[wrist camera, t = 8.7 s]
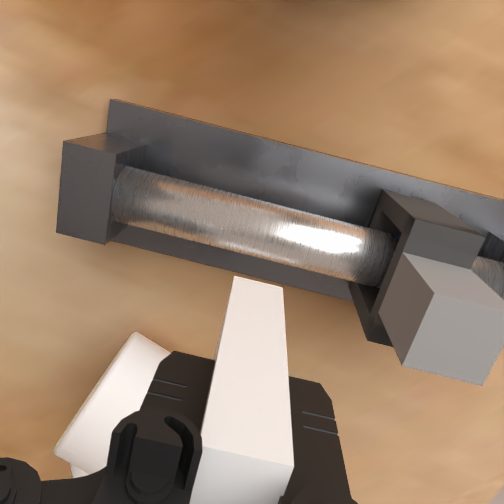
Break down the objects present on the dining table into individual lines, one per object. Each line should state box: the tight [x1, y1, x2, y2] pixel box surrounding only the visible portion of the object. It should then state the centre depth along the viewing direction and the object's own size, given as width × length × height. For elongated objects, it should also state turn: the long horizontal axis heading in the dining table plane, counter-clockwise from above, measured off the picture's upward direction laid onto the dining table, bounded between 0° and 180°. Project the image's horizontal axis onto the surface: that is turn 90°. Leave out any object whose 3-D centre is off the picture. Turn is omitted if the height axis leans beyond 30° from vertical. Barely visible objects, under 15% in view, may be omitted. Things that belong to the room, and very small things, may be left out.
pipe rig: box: [56, 99, 504, 302], centre depth 22 cm, size 24×8×6 cm, turn 76°
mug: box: [53, 332, 171, 478], centre depth 27 cm, size 12×10×8 cm
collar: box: [348, 190, 504, 386], centre depth 19 cm, size 3×6×10 cm, turn 166°
